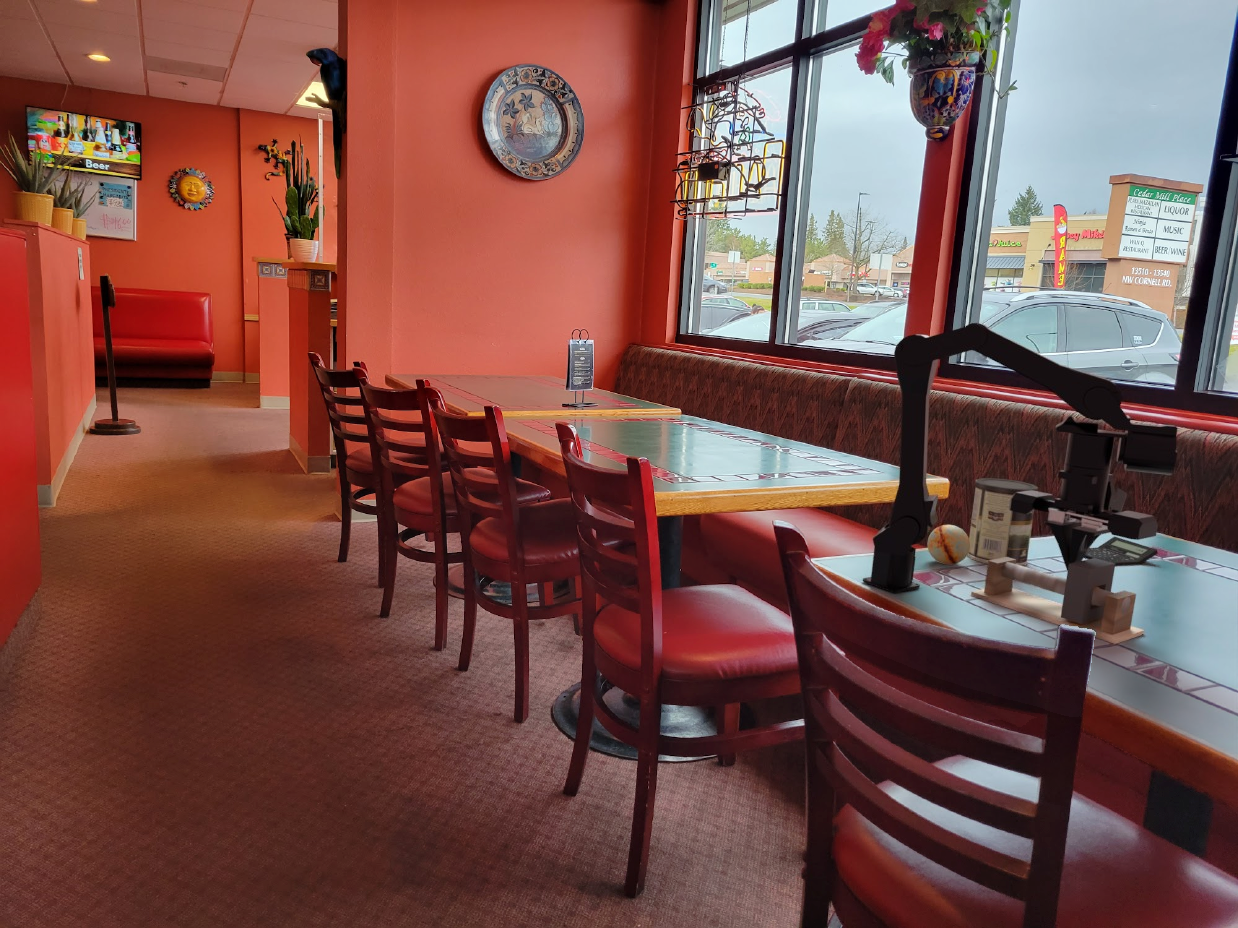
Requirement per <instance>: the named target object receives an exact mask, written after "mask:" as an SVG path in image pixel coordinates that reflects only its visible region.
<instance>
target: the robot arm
mask: <svg viewBox="0 0 1238 928" xmlns="http://www.w3.org/2000/svg"><path fill="white" fill-rule="evenodd" d="M970 351H973V352H976V353H978V354H980V355H982V356H984V357H985V358H988V359H989V360H991V361H994V362H996V363H998V364H999V365H1002V366H1003V367H1006V368H1007V369H1009V370H1011V371H1013V372H1015V373H1018V374H1020V375H1021V376H1022V377H1025V378H1027V379H1029V380H1030V381H1032V382H1035V383H1037V384H1038V385H1041V386H1043V387H1045V388H1046V389H1047V390H1049V391H1050V392H1052V393H1053V394H1054V395H1055V396H1057V397H1058V398H1059V399H1060V400H1061V401H1063V402H1064V403H1065V404H1066V405H1068V406H1069V407H1071V408H1072V409H1073V410H1074V411H1076V412H1077V413H1079V414H1080V415H1081V416H1083V417H1084V418H1086V419H1088V420H1091V421H1103V422H1104V423H1106V424H1107V425H1108V426H1110V427H1111V428H1113V429H1114V430H1116V431H1113V430H1104V429H1099V422H1090V421H1079V420H1076V419H1074V417H1073V415H1072V414H1068V415H1067V417H1065V418H1064V420H1063V421H1061V422H1060V423H1057V424H1056V425H1055V431H1056V432H1059V433H1068V439H1067V448H1066V453H1065V459H1064V467H1063V470H1059V471H1058V473H1057V474H1058V475H1057V479H1062V481H1061V488H1060V493H1059V494H1060V495H1059V498H1055V496H1054V494H1051V493H1047V492H1042V491H1033V490H1030V491H1023V492H1016V493H1015V494H1014V495H1013V496H1012V497H1011V499H1010V504H1009V510H1010V511H1014V512H1018V513H1022V514H1029V513H1030V512H1032V511H1033V510H1034V511H1039V512H1044V513H1048V517H1047V520H1044V525H1046V526H1049V528H1050V530H1051V532H1052V534H1053V536H1054V538H1055V540H1056V543H1057V545H1058V548H1059V550H1060V554H1061V556H1062V560H1063V562H1064V565H1065V568H1066V569H1065V570H1067V572H1068V566H1069V564H1070V563H1075V562H1079V561H1084V559H1085V558H1084V556H1085V554H1086V553H1087V551H1088V549H1089V548H1091V546H1092V545H1093V544H1094V543H1095V541H1096V540H1097V538H1099V537H1100V536H1102V535H1104V534H1105V535H1106V534H1111V535H1113V536H1115V537H1119V538H1123V539H1125V538H1126V539H1129V540H1136V541H1139V540H1143V539H1148V538H1153V537H1156V536H1157V533H1158V532H1157V531H1158V527H1159V524H1158V522H1157V519H1156V518H1155V516H1154V515H1151V514H1147V513H1143V512H1142V513H1141V512H1139V511H1138V512H1137V511H1132V510H1125V511H1123V506H1124V505H1125V502H1126V498H1127V495H1128V493H1127V492H1125V491H1123V490H1122V489H1120V488H1119V487H1117V486H1115V485H1114V481H1115V480H1114V479H1115V478H1114V474H1111V473H1110V472H1111V463H1112V459H1113V458H1112V457H1113V451H1114V445H1115V439H1116V438H1117V439H1118V438H1119V441H1118V445H1117V453H1116V462H1117V463H1122V465H1124V466H1123V467H1124V468H1123V469H1124V471H1132V472H1140V473H1141V472H1142V473H1147V474H1148V473H1149V474H1150V473H1151V474H1160V475H1165V476H1166V475H1167V476H1172V475H1173V473H1174V471H1175V467H1176V462H1177V456H1178V451H1177V440H1178V439H1177V437H1178V436H1177V435H1178V427H1177V425H1173V424H1148V423H1147V424H1146V423H1138V422H1131V416H1129V415H1128V414H1126V413H1125V412H1124V410H1123V409H1122V407H1121V405H1122V400H1123V396H1122V393H1121V390H1120V388H1119V387H1118V386H1117V384H1115V383H1114V382H1113V381H1112V380H1111V379H1108V378H1106V377H1102V376H1099V375H1096V374H1094V373H1090V372H1086V371H1083V370H1080V369H1075V368H1073V367H1069V366H1066V365H1062V364H1059V363H1058V362H1056V361H1054V360H1053V359H1049V358H1048V357H1046V356H1044V355H1041V354H1039V353H1038V352H1035V351H1034V350H1032V349H1030V348H1028V347H1026V346H1024V345H1022V344H1020V343H1017V342H1016V341H1014V340H1012V339H1009V338H1007V337H1006V336H1004V335H1002V334H1000V333H997V332H996V331H994V330H993V329H990V328H989V327H988V326H987V325H986V324H984V323H980V322H971V323H969V324H967V325H965V326H962V327H958V328H957V329H953V330H949V331H945V332H942V333H938V334H935V335H931V336H929V335H927V334H911V335H910V334H909V335H907V336H905V337H903V338H902V339H901V340H900V341H899V342H898V343H897V344H896V346H895V348H894V353H893V357H894V364H895V371H896V377H897V380H898V381H897V382H898V384H899V389H900V392H901V412H900V413H901V418H900V419H901V420H900V446H899V448H900V449H899V450H900V451H899V452H900V453H899V481H898V487H897V491H896V494H895V498H894V502H893V504H892V508H891V514H890V517H889V522H888V523H887V524H886V525H884V526H883V527H881V529H880V530H879V531H878V532H877V533H876V534H875V535H874V536H873V538H872V543H873V547H874V548H873V557H872V566H871V575H870V576H869V577H863V578H862V582H863V583H866V584H869V585H871V586H874V587H877V588H880V589H882V590H884V591H888V592H891V593H895V594H896V593H901V592H906V591H910V590H915V589H920V585H921V584H919V583H916V582H914V575H915V572H914V571H915V564H916V550H917V548H916V547H914V545H918V544H920V543H921V542H922V541H924V539H925V538H926V537H927V535H928V534H929V532H930V531H931V529H932V528H933V527H934V526H935V524H936V523H937V521H938V520H939V518H938V515H937V510H936V509H937V504H938V499H939V494H930V493H929V489H928V486H927V485H928V484H927V466H928V439H929V418H930V417H929V415H930V414H929V413H930V412H929V411H930V410H929V409H930V394H931V390H932V388H933V387H932V386H933V384H934V379H935V377H936V372H937V369H938V368H937V367H938V363H939V360H942V359H945V358H949V357H952V356H956V355H960V354H963V353H968V352H970ZM1121 431H1122V432H1121ZM1123 431H1124V432H1123ZM1106 511H1111V512H1112V513H1111V512H1106Z"/></svg>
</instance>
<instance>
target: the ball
mask: <svg viewBox="0 0 1238 928" xmlns="http://www.w3.org/2000/svg"><path fill="white" fill-rule="evenodd" d="M926 545H927V551H928V553H929V555H930V556H931V557H932V558H933V559H934V560H935V561H936V562H938V563H940V564H943V565H947V566H948V565H949V566H950V565H952V566H953V565H956V564H959V563H960V562H962V561H964V560H965V559H966V557H968V556H967V555H968V553H969V550H970V541H969V536H968V534H967V533H966V532H965V531H964V529H963V528H961V527H959V526H957V525H953V524H943V525H940V526H936V528H934V529H933V530H932V531H931V533H930V534H929V536H928V538H927V544H926Z"/></svg>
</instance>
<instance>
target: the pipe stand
mask: <svg viewBox="0 0 1238 928" xmlns="http://www.w3.org/2000/svg"><path fill="white" fill-rule="evenodd" d="M1066 579H1067V578H1064V577H1061V576H1058V575H1054V574H1051V573H1048V572H1045V571H1040V570H1037V569H1033V568H1030V567H1027V566H1025V565H1024V566H1020V565H1017V564H1016V559H1013V558H1009V557H1004V558H999V559H994V560H989V561H988V564H987V567H986V575H985V582H984V588H982V589H976V590H973V591H971V593H970V596H972V597H975V598H979V599H981V600H983V601H986V602H990V603H993V604H996V605H998V606H1001V607H1005V608H1007V609H1011V610H1013V611H1015V612H1016V611H1017V612H1019V613H1022V614H1025V615H1028V616H1031V617H1034V618H1036V619H1040V620H1042V621H1046V622H1049V623H1051V624H1054V625H1058V626H1060V624H1065V625H1069V626H1078V627H1079V628H1087V629H1092V630H1094V631H1095V632H1096V637H1095V638H1096V639H1099V640H1102V641H1105V642H1108V643H1111V644H1114V645H1116V644H1118V643H1122V642H1125V641H1128V640H1132V639H1133V638H1137V637H1140V636H1143V635H1144V634H1145V630H1144V629H1142V628H1138V627H1136V626H1132V621H1133V616H1134V610H1135V603H1136V597H1137V593H1135V592H1131V591H1127V590H1122V591H1118V592H1113V591H1111V592H1109V591H1106V590H1102V589H1100V588H1099V587H1094V588H1093V594H1092V601H1091V605H1097V606H1100V607H1104V613H1103V618H1101V619H1097V620H1094V621H1091V622H1087V623H1084V624H1079V623H1076V622H1073V621H1070V620H1067V619H1064V618H1061V612H1062V605H1063V603H1060V602H1057V601H1053V600H1050V599H1047V598H1044V597H1041V596H1038V595H1034V594H1031V593H1028V592H1026V591H1022V590H1019V589H1017V588H1013V585H1014V581H1016V582H1020V583H1022V584H1026V585H1029V586H1033V587H1036V588H1039V589H1042V590H1044V591H1049V592H1051V593H1055V594H1059V595H1062V596H1064V592H1065V585H1066ZM1142 634H1143V635H1142Z"/></svg>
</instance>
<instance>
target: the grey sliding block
mask: <svg viewBox="0 0 1238 928" xmlns="http://www.w3.org/2000/svg"><path fill="white" fill-rule="evenodd" d="M1115 567H1116V566H1115V563H1111V562H1107V561H1104V560H1100V559H1096V558H1092V559H1083V560H1082V561H1079V562H1075V563H1070V564H1069V566H1068V571H1067V573H1066V578H1065V579H1066V585H1065V592H1064V595H1063V599H1062V604H1063V605H1062V612H1061V618H1064V619H1067V620H1070V621H1073V622H1076V623H1079V624H1084V623H1087V622H1091V621H1094V620H1097V619H1101V618H1103V613H1104V607H1100V606H1097V605H1091V601H1092V594H1093V588H1094V587H1099V588H1100V589H1102V590H1106V591H1109V592H1112V587H1113V582H1114V581H1113V580H1114V576H1115Z"/></svg>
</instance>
